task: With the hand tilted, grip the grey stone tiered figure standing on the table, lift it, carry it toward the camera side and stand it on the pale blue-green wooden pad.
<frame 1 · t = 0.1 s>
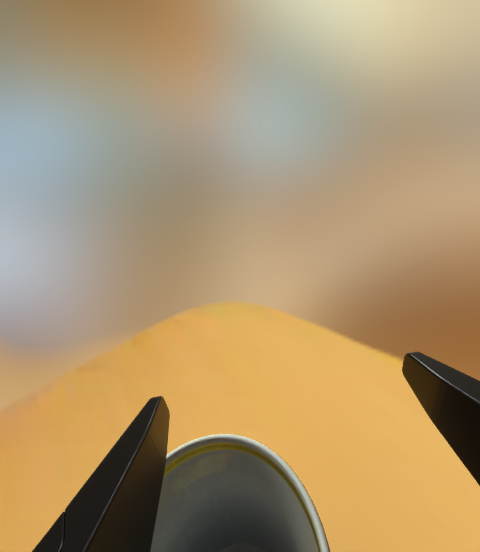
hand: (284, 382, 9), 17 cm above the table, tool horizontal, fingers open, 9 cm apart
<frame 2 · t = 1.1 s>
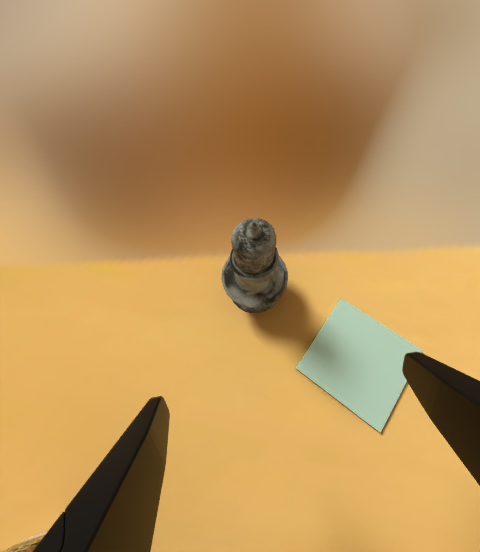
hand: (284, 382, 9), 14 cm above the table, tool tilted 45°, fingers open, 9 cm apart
grey stone tiered figure: (254, 287, 25), on the table
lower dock: (357, 359, 22), on the table
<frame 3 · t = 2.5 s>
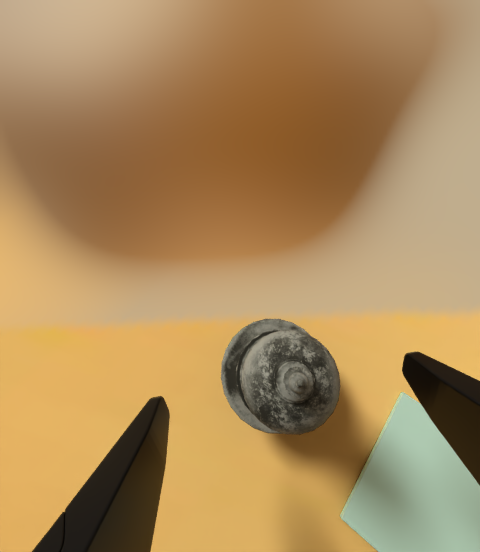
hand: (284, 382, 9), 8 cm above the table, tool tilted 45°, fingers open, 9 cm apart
grey stone tiered figure: (270, 370, 17), on the table
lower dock: (438, 501, 14), on the table
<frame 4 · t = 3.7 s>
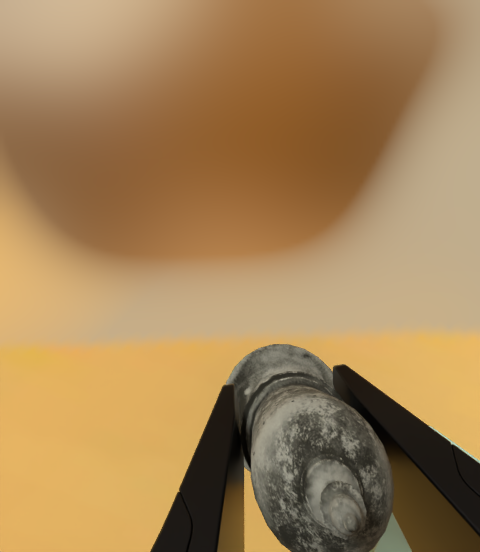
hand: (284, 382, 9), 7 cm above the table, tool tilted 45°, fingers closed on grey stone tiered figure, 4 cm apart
grey stone tiered figure: (276, 397, 15), on the table, touching gripper
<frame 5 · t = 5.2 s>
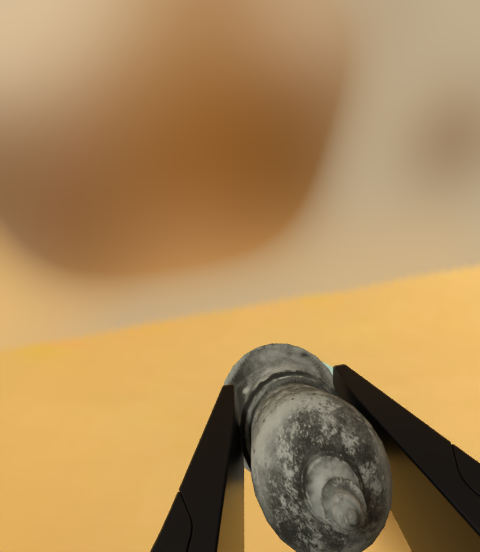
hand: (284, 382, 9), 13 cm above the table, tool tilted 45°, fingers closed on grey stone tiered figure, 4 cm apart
grey stone tiered figure: (274, 396, 15), point 6 cm above the table, touching gripper
when the fingers open (8 cm above the table, at t = 7.0 s): grey stone tiered figure stays where it is, resting on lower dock.
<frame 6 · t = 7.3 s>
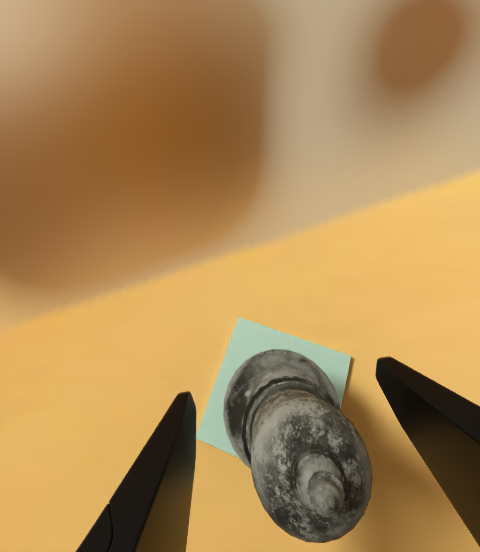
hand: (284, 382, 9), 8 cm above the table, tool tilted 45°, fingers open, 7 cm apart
grey stone tiered figure: (275, 398, 16), resting on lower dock
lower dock: (275, 395, 16), on the table
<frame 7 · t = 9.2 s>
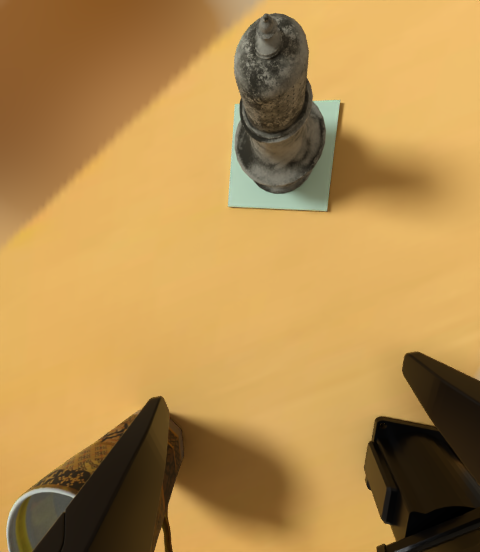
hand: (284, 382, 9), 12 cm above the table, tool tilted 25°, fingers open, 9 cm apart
grey stone tiered figure: (280, 160, 19), resting on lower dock
ceramic cup: (166, 447, 25), on the table
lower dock: (280, 158, 19), on the table
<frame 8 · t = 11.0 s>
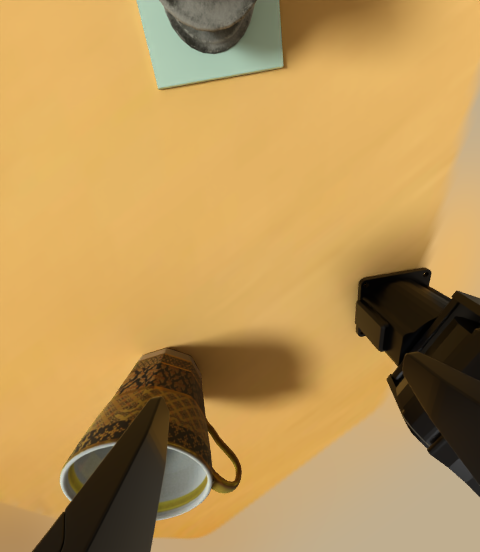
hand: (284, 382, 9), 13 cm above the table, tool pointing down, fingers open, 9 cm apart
ceramic cup: (182, 374, 26), on the table
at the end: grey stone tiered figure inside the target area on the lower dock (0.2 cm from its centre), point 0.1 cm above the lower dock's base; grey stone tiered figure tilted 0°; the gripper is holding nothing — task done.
